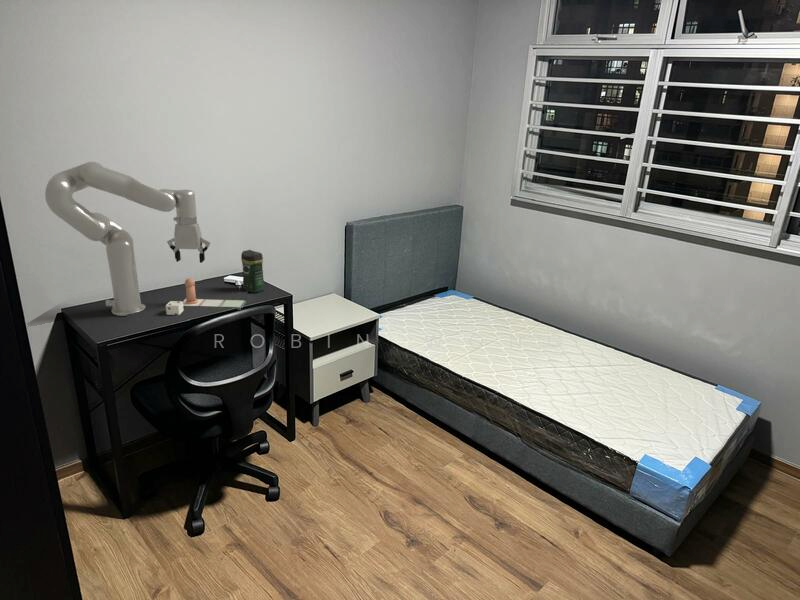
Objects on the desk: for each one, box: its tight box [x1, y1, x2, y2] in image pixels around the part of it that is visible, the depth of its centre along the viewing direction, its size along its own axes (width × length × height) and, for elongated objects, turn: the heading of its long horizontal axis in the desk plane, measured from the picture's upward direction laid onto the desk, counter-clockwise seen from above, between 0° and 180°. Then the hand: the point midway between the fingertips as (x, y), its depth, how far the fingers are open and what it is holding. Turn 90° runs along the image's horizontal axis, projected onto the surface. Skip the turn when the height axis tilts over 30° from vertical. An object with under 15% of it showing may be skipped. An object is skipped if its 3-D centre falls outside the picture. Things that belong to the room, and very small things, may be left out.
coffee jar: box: [241, 249, 265, 293], centre depth 255 cm, size 10×8×19 cm
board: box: [183, 298, 247, 311], centre depth 238 cm, size 26×9×1 cm, turn 91°
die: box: [165, 300, 185, 316], centre depth 226 cm, size 5×5×5 cm
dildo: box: [184, 278, 198, 304], centre depth 236 cm, size 5×5×11 cm
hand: (190, 261), depth 233 cm, fingers open, 9 cm apart
